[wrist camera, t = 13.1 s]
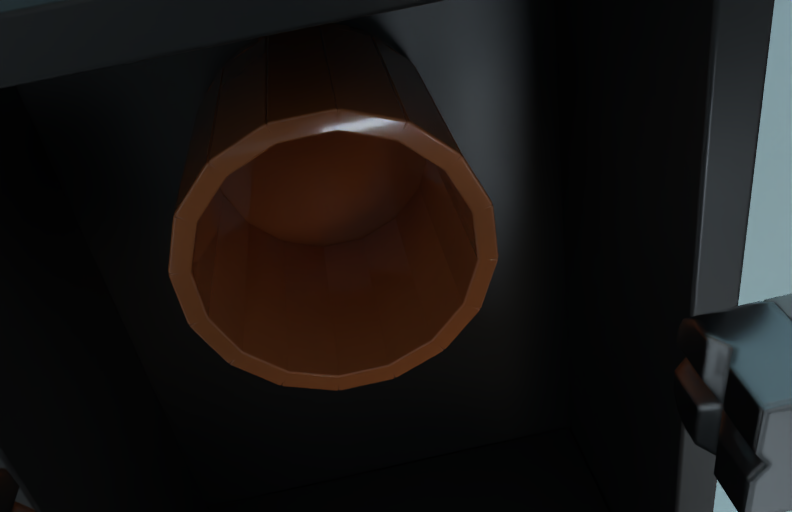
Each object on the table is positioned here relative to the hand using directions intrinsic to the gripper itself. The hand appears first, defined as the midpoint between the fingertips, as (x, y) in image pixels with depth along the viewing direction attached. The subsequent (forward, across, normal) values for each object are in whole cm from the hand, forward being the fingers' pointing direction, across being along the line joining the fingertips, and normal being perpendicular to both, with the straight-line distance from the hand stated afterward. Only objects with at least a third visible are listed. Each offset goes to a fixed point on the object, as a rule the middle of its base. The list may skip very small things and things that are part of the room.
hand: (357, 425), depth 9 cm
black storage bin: (+11, 0, +4) cm, 12 cm away
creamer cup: (+10, 0, +1) cm, 10 cm away
